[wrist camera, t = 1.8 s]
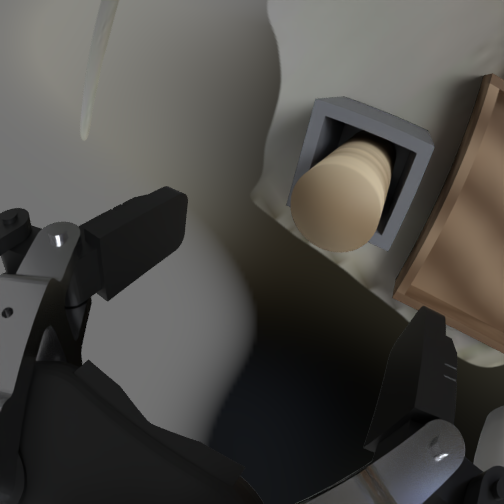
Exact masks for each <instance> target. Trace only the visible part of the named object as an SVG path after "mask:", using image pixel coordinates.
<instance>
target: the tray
mask: <svg viewBox="0 0 504 504" xmlns="http://www.w3.org/2000/svg"><path fill="white" fill-rule="evenodd" d="M392 298H394V299H396V300H398V301H400V302H402V303H404V304H406V305H408V306H410V307H412V308H414V309H416V310H419V309H420V308H421V307H422V306H426V307H428V308H430V309H432V310H434V311H436V312H438V313H440V314H442V315H444V316H445V319H446V324H447V325H449V326H451V327H453V328H455V329H457V330H459V331H461V332H463V333H465V334H467V335H469V336H471V337H472V338H474V339H476V340H478V341H480V342H482V343H484V344H486V345H488V346H490V347H492V348H494V349H496V350H498V351H500V352H502V353H504V80H503V79H501V78H500V77H498V76H496V75H494V74H488V75H484V77H483V80H482V84H481V87H480V90H479V93H478V97H477V100H476V103H475V106H474V109H473V112H472V115H471V118H470V121H469V124H468V126H467V129H466V132H465V135H464V137H463V140H462V143H461V145H460V148H459V150H458V153H457V155H456V158H455V160H454V163H453V165H452V168H451V170H450V172H449V175H448V177H447V179H446V182H445V184H444V186H443V188H442V191H441V193H440V195H439V197H438V199H437V201H436V204H435V206H434V208H433V210H432V212H431V214H430V216H429V218H428V220H427V222H426V224H425V226H424V228H423V230H422V232H421V234H420V236H419V238H418V240H417V242H416V244H415V246H414V248H413V249H412V251H411V253H410V255H409V257H408V259H407V260H406V262H405V264H404V266H403V268H402V269H401V271H400V273H399V275H398V276H397V278H396V281H395V287H394V292H393V297H392Z"/></svg>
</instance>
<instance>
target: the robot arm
mask: <svg viewBox="0 0 504 504" xmlns="http://www.w3.org/2000/svg"><path fill="white" fill-rule="evenodd" d="M187 204H188V199H187V196H186V194H184V193H182V192H179V191H177V190H175V189H172V188H170V187H167V186H166V187H163V188H160V189H158V190H157V191H154V192H152V193H150V194H148V195H143V196H138V197H134V198H132V199H130V200H128V201H126V202H124V203H123V204H122V205H121V204H120V205H118V206H116V207H114V208H113V210H111V209H110V210H109V211H107V212H105V213H103V214H101V215H99V216H97V217H95V218H93V219H91V220H90V221H88V222H86V223H84V224H82V225H80V226H79V227H78V226H77V225H75V224H73V223H70V222H56V223H53V224H50V225H48V226H46V227H44V228H43V229H40V228H37V227H34V226H31V223H30V218H29V213H28V211H26V210H25V209H21V208H15V209H10V210H7V211H4V212H2V213H0V256H1V258H2V261H3V264H4V267H5V270H6V273H3V274H1V275H0V504H264V503H263V501H262V500H261V498H260V497H259V495H258V494H257V493H256V491H255V490H254V489H253V488H252V487H251V486H250V485H249V483H248V482H246V481H245V480H244V479H243V478H242V477H241V476H240V475H241V473H242V472H243V470H244V469H245V467H244V466H242V465H240V464H238V463H236V462H234V461H233V460H231V459H229V458H227V457H225V456H223V455H222V454H220V453H218V452H216V451H214V450H213V449H211V448H210V447H208V446H206V445H204V444H203V443H201V442H199V441H196V440H193V439H189V438H186V437H184V436H181V435H178V434H176V433H173V432H170V431H167V430H165V429H162V428H160V427H157V426H155V425H153V424H151V423H150V422H148V421H147V420H146V418H145V417H144V416H143V415H142V414H141V412H140V411H139V410H138V409H137V407H136V406H135V405H134V404H133V402H132V401H131V400H130V399H129V397H128V396H127V395H126V393H125V392H124V391H123V389H122V388H121V387H120V386H119V385H118V384H117V383H115V382H114V381H113V380H112V379H111V378H109V377H108V376H107V375H106V374H105V373H103V372H102V371H101V370H100V369H99V368H98V367H96V366H95V365H94V364H93V363H92V362H91V361H89V360H88V361H86V362H85V363H84V364H83V365H82V355H81V351H82V344H83V339H84V334H85V330H86V325H87V321H88V317H89V312H90V308H91V304H92V302H91V301H92V300H91V296H92V295H94V294H95V293H97V294H99V295H100V296H101V297H103V298H104V299H105V300H106V301H109V300H110V299H111V298H113V297H114V296H115V295H117V294H118V293H119V292H121V291H122V290H123V289H124V288H126V287H127V286H128V285H130V284H131V283H132V282H134V281H135V280H136V279H138V278H139V277H140V276H141V275H143V274H144V273H146V272H147V271H148V270H150V269H151V268H152V267H154V266H155V265H156V264H158V263H159V262H161V261H162V260H163V259H165V258H166V257H167V256H169V255H170V254H171V253H173V252H174V251H176V249H178V247H179V246H180V245H181V243H182V241H183V238H184V234H185V224H186V214H187ZM456 369H457V352H456V349H455V346H454V344H453V341H452V339H451V338H449V337H447V336H446V319H445V316H444V315H442V314H440V313H438V312H436V311H434V310H432V309H430V308H428V307H426V306H422V307H421V308H420V309H419V310H418V312H417V313H416V315H415V316H414V317H413V319H412V320H411V322H410V323H409V324H408V326H407V327H406V329H405V330H404V332H403V333H402V334H401V335H400V337H399V338H398V339H397V341H396V342H395V344H394V346H393V348H392V350H391V352H390V355H389V358H388V363H387V367H386V371H385V375H384V379H383V383H382V387H381V391H380V395H379V398H378V402H377V405H376V409H375V412H374V416H373V419H372V423H371V425H370V429H369V432H368V435H367V438H366V442H365V444H364V448H365V449H368V450H370V451H373V452H375V454H374V457H373V460H372V462H370V463H369V464H367V465H366V466H364V467H362V468H361V469H359V470H358V471H356V472H355V473H353V474H351V475H349V476H348V477H346V478H344V479H343V480H341V481H339V482H338V483H335V484H334V485H332V486H330V487H328V488H326V489H325V490H323V491H321V492H319V493H317V494H315V495H313V496H311V497H309V498H307V499H305V500H303V501H300V502H298V503H296V504H504V467H503V466H493V467H491V468H490V469H488V470H486V471H484V472H483V471H482V470H480V469H479V468H478V467H477V466H475V465H474V464H473V463H471V462H470V461H469V460H468V459H467V458H466V457H465V456H464V454H465V445H464V440H463V438H462V435H461V434H460V432H459V430H458V429H457V428H456V427H455V426H454V417H455V404H456V386H457V384H456V379H457V371H456Z"/></svg>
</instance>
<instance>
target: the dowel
mask: <svg viewBox="0 0 504 504" xmlns="http://www.w3.org/2000/svg"><path fill="white" fill-rule="evenodd" d="M395 161H396V150H395V147H394V144H393V142H391V141H389V140H387V139H384V138H382V137H380V136H377V135H375V134H372V133H370V132H367V131H365V130H362V131H360V132H358V133H357V134H355V135H354V136H353V137H351V138H350V139H349V140H347V141H346V142H345V143H343V144H342V145H341V146H340V147H338V148H337V149H336V150H334V151H333V152H332V153H331V154H329V155H328V156H327V157H325V158H324V159H323V160H322V161H320V162H319V163H318V164H316V165H315V166H314V167H313V168H311V169H310V170H309V171H307V172H306V173H305V174H304V175H303V176H302V177H301V178H300V179H299V180H298V181H297V183H296V185H295V186H294V189H293V191H292V195H291V203H290V204H291V213H292V217H293V220H294V222H295V224H296V226H297V228H298V230H299V231H300V232H301V234H302V235H303V236H304V237H305V238H306V239H307V240H308V241H310V242H311V243H312V244H314V245H316V246H317V247H319V248H322V249H324V250H327V251H331V252H348V251H353V250H355V249H358V248H360V247H362V246H363V245H364V244H366V243H367V242H368V241H369V240H370V239H371V238H372V236H373V235H374V233H375V231H376V229H377V227H378V224H379V220H380V217H381V214H382V210H383V207H384V203H385V199H386V196H387V192H388V189H389V185H390V181H391V177H392V173H393V169H394V165H395Z"/></svg>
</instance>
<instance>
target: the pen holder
mask: <svg viewBox="0 0 504 504" xmlns="http://www.w3.org/2000/svg"><path fill="white" fill-rule="evenodd" d="M362 130H365V131H367V132H370V133H372V134H375V135H377V136H380V137H382V138H384V139H387V140H389V141H391V142H393V144H394V147H395V150H396V161H395V165H394V169H393V173H392V177H391V181H390V185H389V189H388V192H387V196H386V199H385V203H384V207H383V210H382V214H381V217H380V220H379V224H378V227H377V229H376V231H375V233H374V235H373V236H372V238H371V239H370V240H369V241H368V242H369V243H371V244H373V245H375V246H378V247H380V248H382V249H384V250H386V251H389V249H390V247H391V245H392V243H393V241H394V239H395V237H396V235H397V232H398V230H399V228H400V226H401V224H402V222H403V220H404V218H405V216H406V213H407V211H408V209H409V207H410V205H411V202H412V200H413V198H414V196H415V193H416V191H417V189H418V187H419V184H420V182H421V179H422V177H423V175H424V172H425V170H426V167H427V165H428V162H429V160H430V157H431V155H432V152H433V150H434V147H435V146H434V143H433V141H432V139H431V136H430V134H429V132H428V130H426V129H424V128H421V127H419V126H417V125H415V124H413V123H410V122H408V121H406V120H404V119H401V118H399V117H396V116H394V115H392V114H389V113H387V112H384V111H382V110H379V109H377V108H374V107H372V106H369V105H366V104H364V103H361V102H358V101H355V100H353V99H350V98H347V97H344V96H343V97H330V98H318V99H315V103H314V106H313V110H312V114H311V118H310V121H309V125H308V129H307V132H306V136H305V140H304V143H303V147H302V151H301V154H300V158H299V161H298V165H297V169H296V172H295V176H294V179H293V183H292V186H291V190H290V194H289V197H288V201H287V204H286V205H287V206H289V207H291V204H290V203H291V195H292V191H293V189H294V186H295V185H296V183H297V181H298V180H299V179H300V178H301V177H302V176H303V175H304V174H305V173H306V172H307V171H309V170H310V169H311V168H313V167H314V166H315V165H316V164H318V163H319V162H320V161H322V160H323V159H324V158H325V157H327V156H328V155H329V154H331V153H332V152H333V151H334V150H336V149H337V148H338V147H340V146H341V145H342V144H343V143H345V142H346V141H347V140H349V139H350V138H351V137H353V136H354V135H355V134H357V133H358V132H360V131H362Z"/></svg>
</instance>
